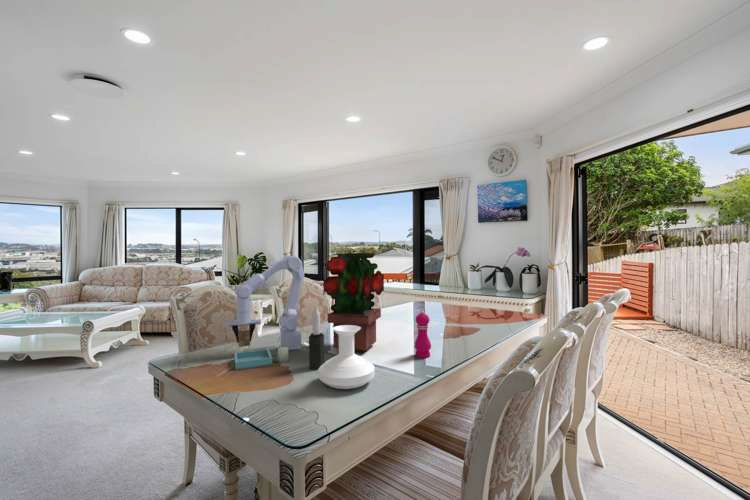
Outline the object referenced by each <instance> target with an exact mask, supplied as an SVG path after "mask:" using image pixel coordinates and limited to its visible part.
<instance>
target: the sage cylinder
mask: <svg viewBox="0 0 750 500" xmlns="http://www.w3.org/2000/svg"><path fill="white" fill-rule="evenodd" d="M288 361H289V350H288V347H280V348H279V347H278V348H277V362H280V363H283V362H288Z"/></svg>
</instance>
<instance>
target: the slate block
mask: <svg viewBox="0 0 750 500" xmlns="http://www.w3.org/2000/svg"><path fill="white" fill-rule="evenodd" d="M264 349H269V351H270V354H271V356H276V347H275V346H274V345H273V346H266V347H265V348H264Z"/></svg>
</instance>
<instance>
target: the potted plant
mask: <svg viewBox="0 0 750 500" xmlns="http://www.w3.org/2000/svg"><path fill="white" fill-rule="evenodd" d="M331 256H332V257H330V260H327V261H326V264H325V269H326V271H327V272H329V273H330V275H332V276H328V277H326V280H325V278H324V277H323V279H322V281H323V284H322V285H323V295H325V293H326V295H327V296H330V298H331V299H332V300H334V304H332V305H331V306H330V310H331V311H332V312H329V313H327V323H328V324H333V327H335V326H341V325H354V326H359V327H361V329H360V330H359V331H358V332H356V333H355V334H354V353H355V354H357V353H358V354H365V352H366V351H367V350H369V349H370V348H371V346H373V345H374V344H375V343H376V342H377V320H378V319H380V318H381V317H382V311H381V310H382V308H373V307H374V306H375V302H374V301H372V300H373V299H375V294H376V295H377V296H381V294H382V292H383V291H384V290H385V282H384V280H385V274H383V273H382V271H381V270H377V269H378V267H379V266H378V264H377V263H376V262H375V263H373V262H371V260H370V259H373V258H374V256H375V253H374V252H365V253H363V252H362V253H361V252H360V253H359V252H358V253H355V252H353V253H351V252H350V253H349V252H345V253H331ZM375 270H376V272H375ZM374 293H375V294H374ZM333 327H332V328H333ZM332 331H333V330H332ZM332 333H333V349H339V335H338V334H337V333H336V332H334V331H333V332H332Z"/></svg>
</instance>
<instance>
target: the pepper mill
mask: <svg viewBox="0 0 750 500" xmlns="http://www.w3.org/2000/svg"><path fill="white" fill-rule="evenodd" d="M415 322H416V324H417V325H416V329H417V337H416V339H415V341H414V349H415V357H416V358H420V359H426V358H430V357H431V351H430V350H431V348H432V343H431V341H430V339H429V336H428V329H429V323H430V317H429V315H428V314H426V313H425V310H423V309H422V310H420V313H419V314H417V315H416V317H415Z"/></svg>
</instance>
